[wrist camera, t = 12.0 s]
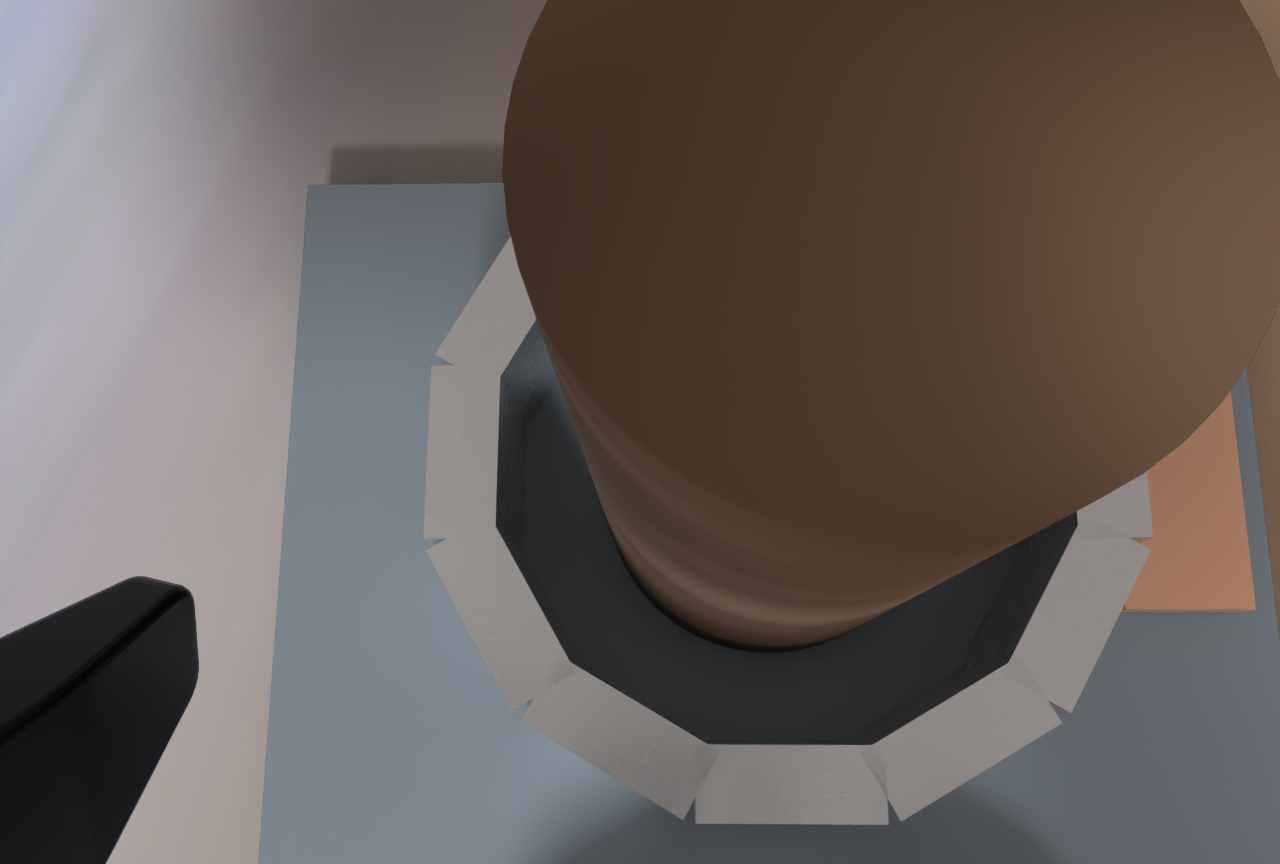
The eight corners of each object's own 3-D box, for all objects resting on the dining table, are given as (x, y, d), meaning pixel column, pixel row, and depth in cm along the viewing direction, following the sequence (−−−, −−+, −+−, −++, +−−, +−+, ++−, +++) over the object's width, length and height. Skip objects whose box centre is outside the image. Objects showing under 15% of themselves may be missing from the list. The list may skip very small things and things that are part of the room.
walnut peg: (988, 538, 19) (1469, 255, 8) (721, 717, 19) (792, 708, 7) (805, 285, 20) (978, -301, 9) (547, 447, 20) (361, 52, 8)
